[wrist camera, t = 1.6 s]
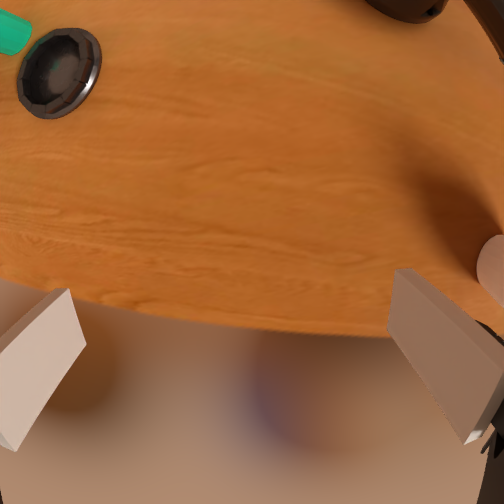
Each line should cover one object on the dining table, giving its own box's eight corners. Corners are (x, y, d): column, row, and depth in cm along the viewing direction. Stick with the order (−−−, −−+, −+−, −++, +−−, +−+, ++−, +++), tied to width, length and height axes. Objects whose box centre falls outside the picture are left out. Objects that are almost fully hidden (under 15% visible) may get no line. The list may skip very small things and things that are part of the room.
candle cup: (42, 32, 26) (32, 27, 23) (115, 29, 27) (106, 21, 25) (16, 116, 30) (4, 115, 27) (84, 123, 31) (73, 122, 28)
